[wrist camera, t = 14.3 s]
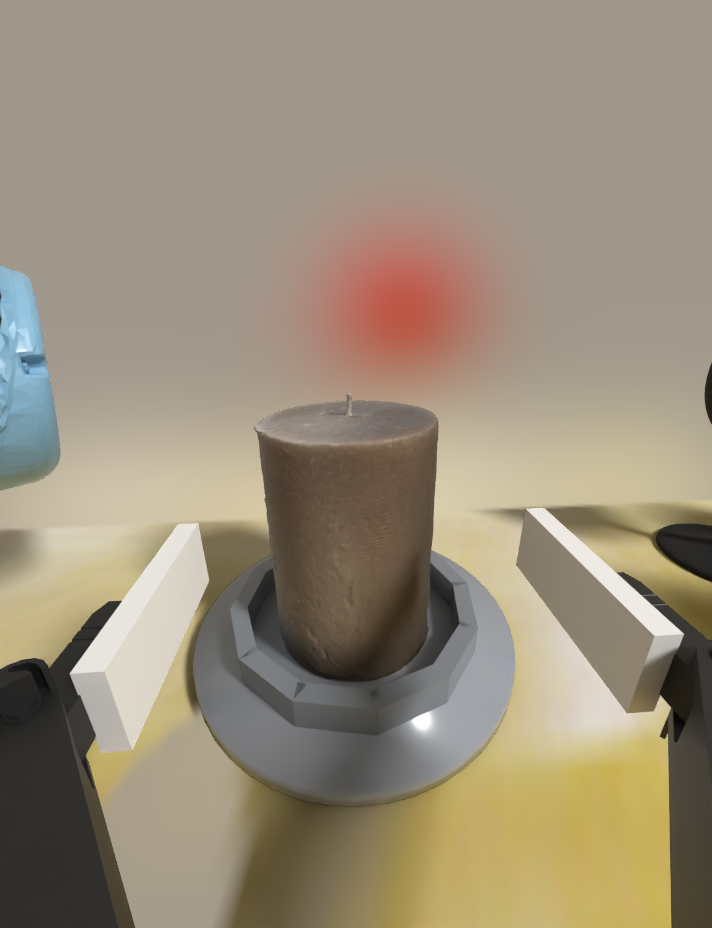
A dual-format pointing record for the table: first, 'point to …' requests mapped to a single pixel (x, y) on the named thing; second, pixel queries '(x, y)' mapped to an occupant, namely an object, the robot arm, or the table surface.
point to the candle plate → (354, 696)
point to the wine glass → (691, 529)
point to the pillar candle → (351, 532)
